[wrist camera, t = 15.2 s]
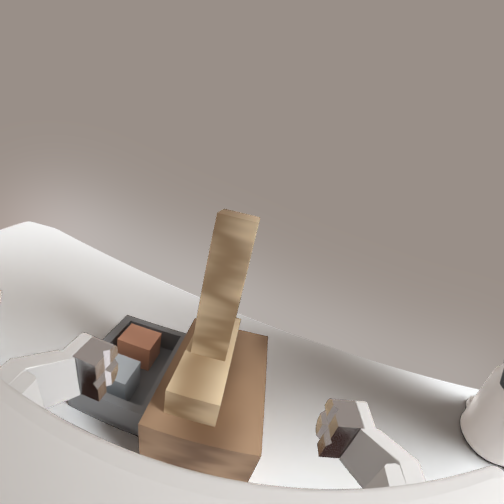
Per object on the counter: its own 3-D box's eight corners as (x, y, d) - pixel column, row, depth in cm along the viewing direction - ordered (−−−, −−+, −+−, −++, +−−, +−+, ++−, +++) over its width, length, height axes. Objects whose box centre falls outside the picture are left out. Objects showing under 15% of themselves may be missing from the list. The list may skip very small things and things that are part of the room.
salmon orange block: (131, 323, 33) (130, 343, 34) (117, 338, 29) (117, 359, 30) (161, 333, 33) (159, 352, 34) (149, 350, 29) (148, 371, 30)
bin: (187, 356, 36) (190, 334, 35) (148, 439, 22) (148, 417, 21) (126, 336, 36) (127, 314, 35) (68, 404, 22) (63, 380, 21)
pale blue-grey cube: (106, 348, 27) (107, 370, 28) (88, 369, 23) (91, 390, 24) (140, 361, 27) (140, 382, 28) (125, 384, 23) (125, 405, 24)
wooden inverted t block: (236, 337, 33) (267, 211, 29) (214, 426, 19) (262, 239, 15) (202, 328, 33) (228, 202, 29) (163, 412, 19) (189, 222, 16)
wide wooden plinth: (256, 373, 36) (267, 336, 35) (243, 490, 19) (261, 456, 17) (188, 356, 36) (194, 318, 35) (140, 463, 19) (138, 423, 17)
